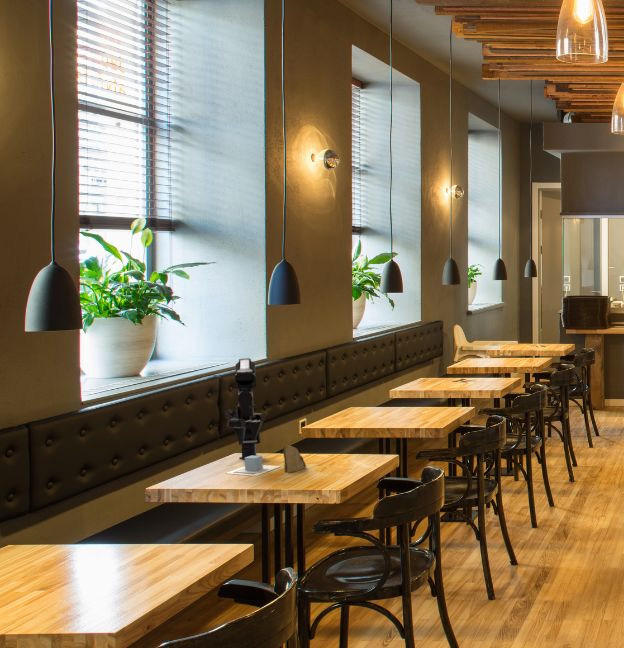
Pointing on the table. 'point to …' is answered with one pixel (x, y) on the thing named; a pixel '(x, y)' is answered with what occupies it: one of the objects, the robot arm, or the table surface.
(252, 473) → the letter
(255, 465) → the cube
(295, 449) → the rock
